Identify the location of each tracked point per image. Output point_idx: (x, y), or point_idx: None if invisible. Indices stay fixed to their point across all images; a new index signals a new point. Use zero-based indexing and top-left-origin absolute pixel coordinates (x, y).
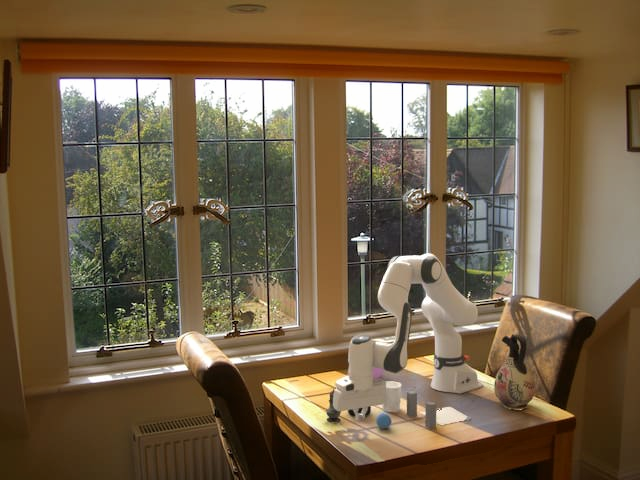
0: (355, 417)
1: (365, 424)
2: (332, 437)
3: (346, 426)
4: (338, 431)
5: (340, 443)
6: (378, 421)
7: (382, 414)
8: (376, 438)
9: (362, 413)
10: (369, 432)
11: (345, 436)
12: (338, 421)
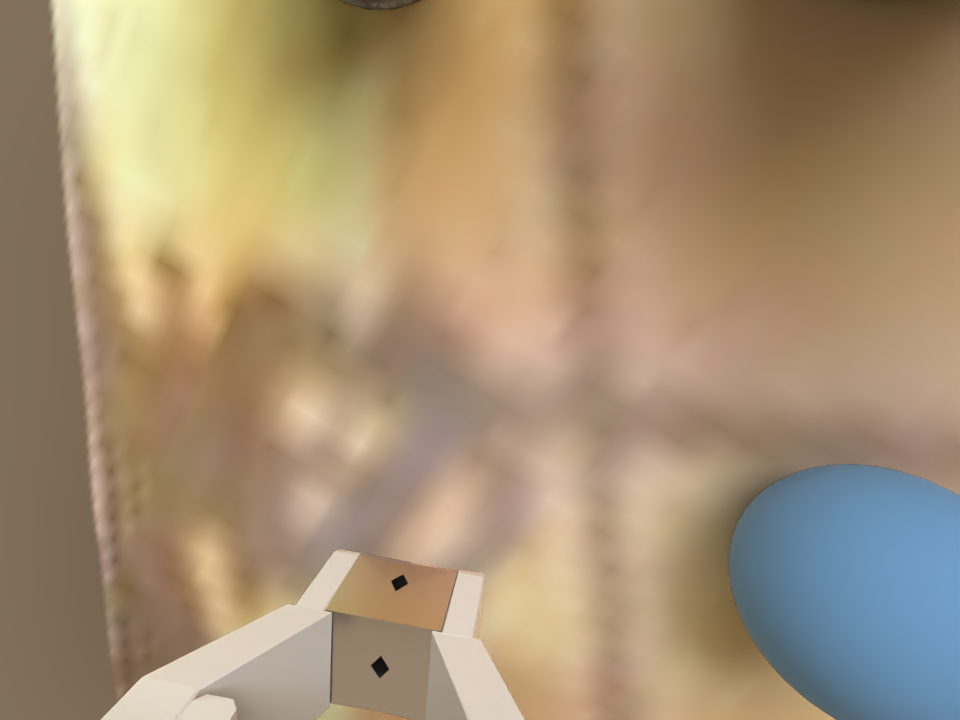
0: (330, 561)
1: (681, 296)
2: (147, 408)
3: (420, 222)
4: (265, 307)
5: (166, 560)
6: (748, 610)
7: (925, 702)
8: (531, 670)
9: (432, 695)
10: (562, 521)
11: (275, 460)
12: (407, 1)
